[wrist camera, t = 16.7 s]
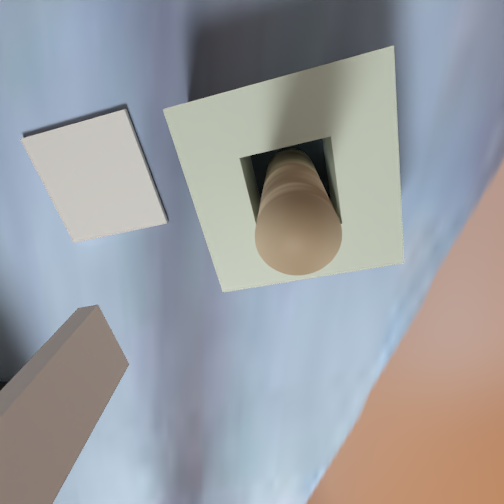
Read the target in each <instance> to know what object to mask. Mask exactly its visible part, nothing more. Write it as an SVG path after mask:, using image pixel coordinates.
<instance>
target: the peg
mask: <svg viewBox="0 0 504 504" xmlns="http://www.w3.org/2000/svg"><path fill="white" fill-rule="evenodd" d="M341 242H342V228H341V224H340V221H339V218H338V216H337V214H336V212H335V210H334V208H333V206H332V203H331V201H330V199H329V197H328V195H327V193H326V191H325V188H324V186H323V184H322V182H321V180H320V178H319V176H318V173H317V171H316V169H315V167H314V165H313V163H312V161H311V159H310V157H309V156H308V155H307V154H306V153H305V152H303V151H301V150H299V149H295V148H288V149H283V150H281V151H279V152H277V153H276V154H275V155H274V156H273V157H272V158H271V160H270V162H269V164H268V167H267V172H266V177H265V182H264V187H263V192H262V197H261V203H260V208H259V213H258V218H257V223H256V228H255V245H256V248H257V251H258V253H259V255H260V256H261V258H262V259H263V261H264V262H265V263H266V264H267V265H269V266H270V267H271V268H273V269H274V270H276V271H278V272H281V273H283V274H288V275H307V274H311V273H314V272H316V271H319V270H321V269H322V268H324V267H325V266H326V265H328V264H329V263H330V262H331V261H332V260H333V259H334V257H335V256H336V254H337V253H338V251H339V248H340V246H341Z"/></svg>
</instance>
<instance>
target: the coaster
mask: <svg viewBox="0 0 504 504" xmlns="http://www.w3.org/2000/svg"><path fill="white" fill-rule="evenodd" d="M20 140H21V142H22V144H23V146H24V147H25V149H26V151H27V153H28V155H29V157H30V159H31V161H32V163H33V165H34V167H35V169H36V171H37V173H38V175H39V176H40V178H41V180H42V182H43V184H44V186H45V188H46V190H47V192H48V194H49V196H50V198H51V200H52V202H53V203H54V205H55V207H56V209H57V211H58V213H59V215H60V217H61V219H62V221H63V223H64V225H65V227H66V229H67V230H68V232H69V234H70V236H71V238H72V240H73V242H74V243H75V242H80V241H85V240H89V239H94V238H99V237H104V236H109V235H113V234H118V233H123V232H128V231H132V230H137V229H142V228H147V227H152V226H156V225H161V224H166V223H168V219H167V216H166V214H165V211H164V208H163V206H162V203H161V200H160V197H159V195H158V192H157V189H156V187H155V184H154V181H153V179H152V176H151V173H150V171H149V168H148V165H147V162H146V160H145V157H144V154H143V152H142V149H141V146H140V144H139V141H138V138H137V136H136V133H135V130H134V127H133V125H132V122H131V119H130V117H129V114H128V111H127V109H123V110H120V111H116V112H113V113H109V114H106V115H102V116H99V117H95V118H92V119H88V120H85V121H81V122H78V123H74V124H71V125H67V126H64V127H60V128H57V129H53V130H49V131H46V132H42V133H39V134H35V135H32V136H28V137H25V138H21V139H20Z"/></svg>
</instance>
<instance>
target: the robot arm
mask: <svg viewBox="0 0 504 504" xmlns="http://www.w3.org/2000/svg"><path fill="white" fill-rule="evenodd" d="M128 366H129V363H128V361H127V359H126V357H125V355H124V353H123V351H122V350H121V348H120V346H119V344H118V342H117V340H116V338H115V336H114V334H113V332H112V330H111V329H110V327H109V325H108V323H107V321H106V319H105V317H104V315H103V313H102V311H101V310H100V308H99V306H98V305H93V306H88V307H82V308H78V309H77V310H76V311H75V312H74V313H73V314H72V315H71V316H70V317H69V319H68V320H67V321H66V322H65V323H64V324H63V325H62V326H61V327H60V328H59V329H58V330H57V331H56V332H55V333H54V334H53V335H52V337H51V338H50V339H49V340H48V341H47V342H46V343H45V344H44V345H43V346H42V347H41V348H40V349H39V350H38V351H37V352H36V354H35V355H34V356H33V357H32V358H31V359H30V360H29V361H28V362H27V363H26V364H25V365H24V366H23V367H22V368H21V369H20V370H19V372H18V373H17V374H16V375H15V376H14V377H13V378H12V379H11V380H10V381H9V382H8V383H7V384H5V383H0V504H52V503H53V502H54V500H55V498H56V496H57V494H58V492H59V491H60V489H61V487H62V485H63V483H64V482H65V480H66V478H67V476H68V474H69V473H70V471H71V469H72V467H73V465H74V463H75V462H76V460H77V458H78V456H79V454H80V453H81V451H82V449H83V447H84V445H85V444H86V442H87V440H88V438H89V436H90V434H91V433H92V431H93V429H94V427H95V425H96V424H97V422H98V420H99V418H100V416H101V415H102V413H103V411H104V409H105V407H106V405H107V404H108V402H109V400H110V398H111V396H112V395H113V393H114V391H115V389H116V387H117V385H118V384H119V382H120V380H121V378H122V376H123V375H124V373H125V371H126V369H127V367H128Z"/></svg>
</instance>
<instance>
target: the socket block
mask: <svg viewBox="0 0 504 504" xmlns="http://www.w3.org/2000/svg"><path fill="white" fill-rule="evenodd" d="M163 111H164V114H165V117H166V120H167V123H168V126H169V129H170V133H171V136H172V139H173V142H174V145H175V148H176V151H177V154H178V157H179V160H180V163H181V166H182V169H183V172H184V175H185V178H186V181H187V184H188V187H189V190H190V194H191V197H192V200H193V203H194V206H195V209H196V212H197V215H198V218H199V221H200V224H201V227H202V230H203V233H204V236H205V239H206V242H207V245H208V248H209V251H210V254H211V258H212V261H213V264H214V267H215V270H216V273H217V276H218V279H219V282H220V285H221V288H222V291H223V292H229V291H235V290H242V289H248V288H254V287H260V286H266V285H272V284H279V283H285V282H291V281H297V280H303V279H309V278H316V277H322V276H328V275H334V274H340V273H346V272H353V271H359V270H365V269H371V268H377V267H383V266H390V265H396V264H402V263H404V250H403V229H402V207H401V186H400V164H399V143H398V121H397V100H396V78H395V56H394V45H393V46H389V47H386V48H382V49H378V50H375V51H371V52H368V53H364V54H360V55H357V56H353V57H350V58H346V59H342V60H339V61H335V62H332V63H328V64H324V65H321V66H317V67H314V68H310V69H306V70H303V71H299V72H296V73H292V74H288V75H285V76H281V77H277V78H274V79H270V80H267V81H263V82H259V83H256V84H252V85H249V86H245V87H241V88H238V89H234V90H231V91H227V92H223V93H220V94H216V95H213V96H209V97H205V98H202V99H198V100H195V101H191V102H187V103H184V104H180V105H176V106H173V107H169V108H166V109H163ZM318 139H322V142H323V149H324V156H325V163H326V170H327V177H328V184H329V191H330V198H331V199H330V201H331V203H332V206H333V208H334V210H335V212H336V214H337V216H338V218H339V221H340V224H341V228H342V242H341V246H340V248H339V251H338V253H337V254H336V256H335V257H334V259H333V260H332V261H331V262H330V263H329V264H328V265H326V266H325V267H324V268H322V269H321V270H319V271H316V272H314V273H311V274H307V275H288V274H283V273H281V272H278V271H276V270H274V269H273V268H271V267H270V266H269V265H267V264H266V263H265V262H264V261H263V259H262V258H261V256H260V255H259V253H258V251H257V248H256V245H255V228H256V223H257V218H258V213H259V208H260V203H261V199H260V195H259V190H258V186H257V182H256V178H255V173H254V169H253V165H252V161H251V157H250V155H255V154H259V153H263V152H267V151H271V150H276V149H280V148H284V147H288V146H292V145H297V144H301V143H305V142H309V141H314V140H318Z"/></svg>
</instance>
